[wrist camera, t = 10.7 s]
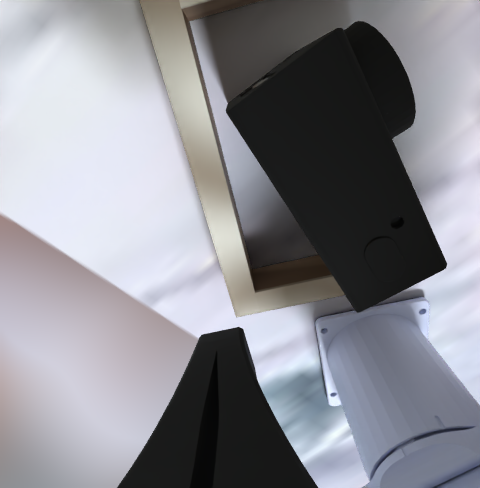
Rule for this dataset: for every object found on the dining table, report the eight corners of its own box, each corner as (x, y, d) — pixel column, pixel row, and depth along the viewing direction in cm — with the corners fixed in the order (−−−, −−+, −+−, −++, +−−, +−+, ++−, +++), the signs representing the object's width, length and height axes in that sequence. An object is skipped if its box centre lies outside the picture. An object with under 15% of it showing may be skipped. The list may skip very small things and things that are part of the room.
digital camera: (398, 201, 19) (480, 256, 13) (319, 247, 20) (359, 317, 14) (318, 33, 15) (380, -6, 9) (227, 103, 16) (225, 111, 10)
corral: (396, 257, 21) (418, 280, 18) (235, 291, 22) (236, 317, 19) (392, -82, 13) (428, -119, 11) (147, -9, 14) (130, -30, 12)
